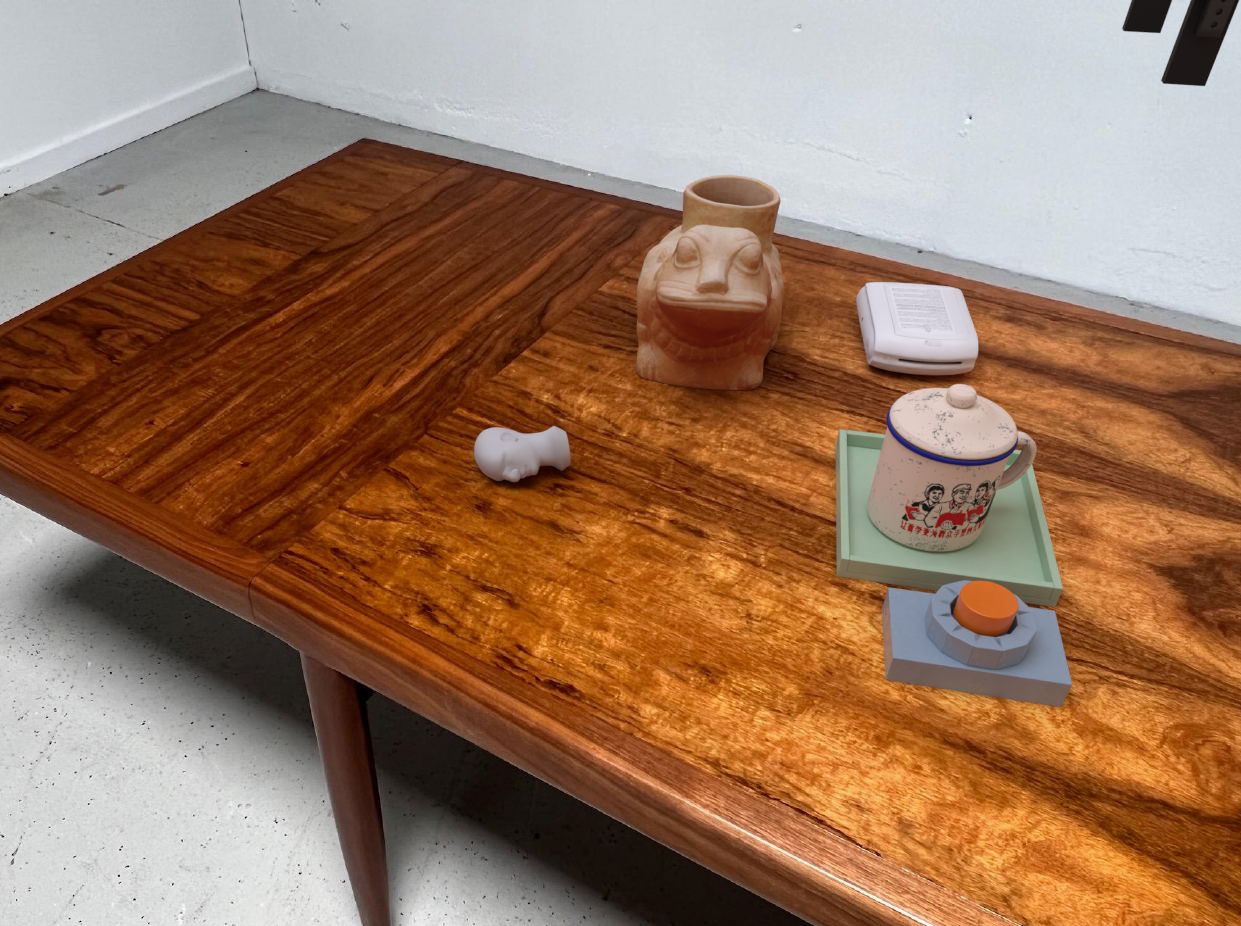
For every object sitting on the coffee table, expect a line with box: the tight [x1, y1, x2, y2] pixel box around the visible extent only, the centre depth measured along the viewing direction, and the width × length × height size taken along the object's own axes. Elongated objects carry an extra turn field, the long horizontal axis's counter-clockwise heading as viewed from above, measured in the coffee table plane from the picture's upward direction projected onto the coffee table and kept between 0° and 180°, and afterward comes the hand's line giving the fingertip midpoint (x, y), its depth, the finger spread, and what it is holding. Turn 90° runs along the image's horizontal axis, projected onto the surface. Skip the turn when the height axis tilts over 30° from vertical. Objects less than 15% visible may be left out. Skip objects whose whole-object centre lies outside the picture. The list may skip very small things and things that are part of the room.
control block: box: [881, 580, 1073, 708], centre depth 72 cm, size 11×7×4 cm, turn 77°
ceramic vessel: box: [635, 174, 785, 391], centre depth 101 cm, size 14×26×15 cm, turn 167°
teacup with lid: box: [867, 383, 1038, 552], centre depth 80 cm, size 12×9×12 cm
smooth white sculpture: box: [473, 425, 572, 483], centre depth 88 cm, size 4×8×5 cm
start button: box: [954, 581, 1019, 637], centre depth 70 cm, size 4×4×2 cm
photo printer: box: [855, 281, 979, 376], centre depth 103 cm, size 10×4×12 cm
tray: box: [834, 428, 1064, 608], centre depth 84 cm, size 15×17×2 cm
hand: (1160, 56), depth 81 cm, fingers open, 13 cm apart
